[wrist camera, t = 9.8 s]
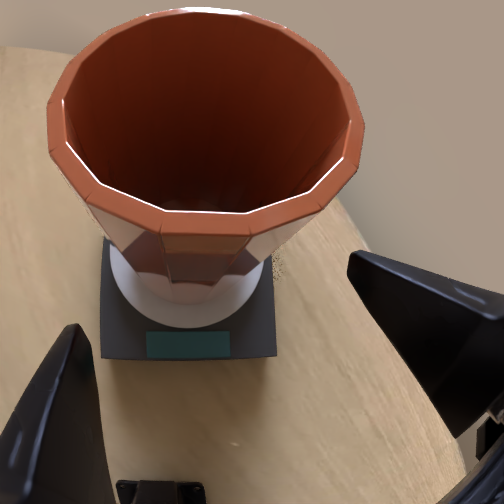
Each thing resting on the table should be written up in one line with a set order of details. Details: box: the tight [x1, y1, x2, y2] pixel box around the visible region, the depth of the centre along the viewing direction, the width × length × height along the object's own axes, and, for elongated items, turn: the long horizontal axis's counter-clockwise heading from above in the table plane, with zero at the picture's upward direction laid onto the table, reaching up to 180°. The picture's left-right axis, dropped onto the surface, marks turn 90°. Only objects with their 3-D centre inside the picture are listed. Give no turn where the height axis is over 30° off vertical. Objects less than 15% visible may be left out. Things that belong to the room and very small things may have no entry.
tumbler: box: [47, 7, 365, 305], centre depth 11 cm, size 7×7×13 cm
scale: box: [100, 236, 277, 361], centre depth 18 cm, size 12×11×3 cm
